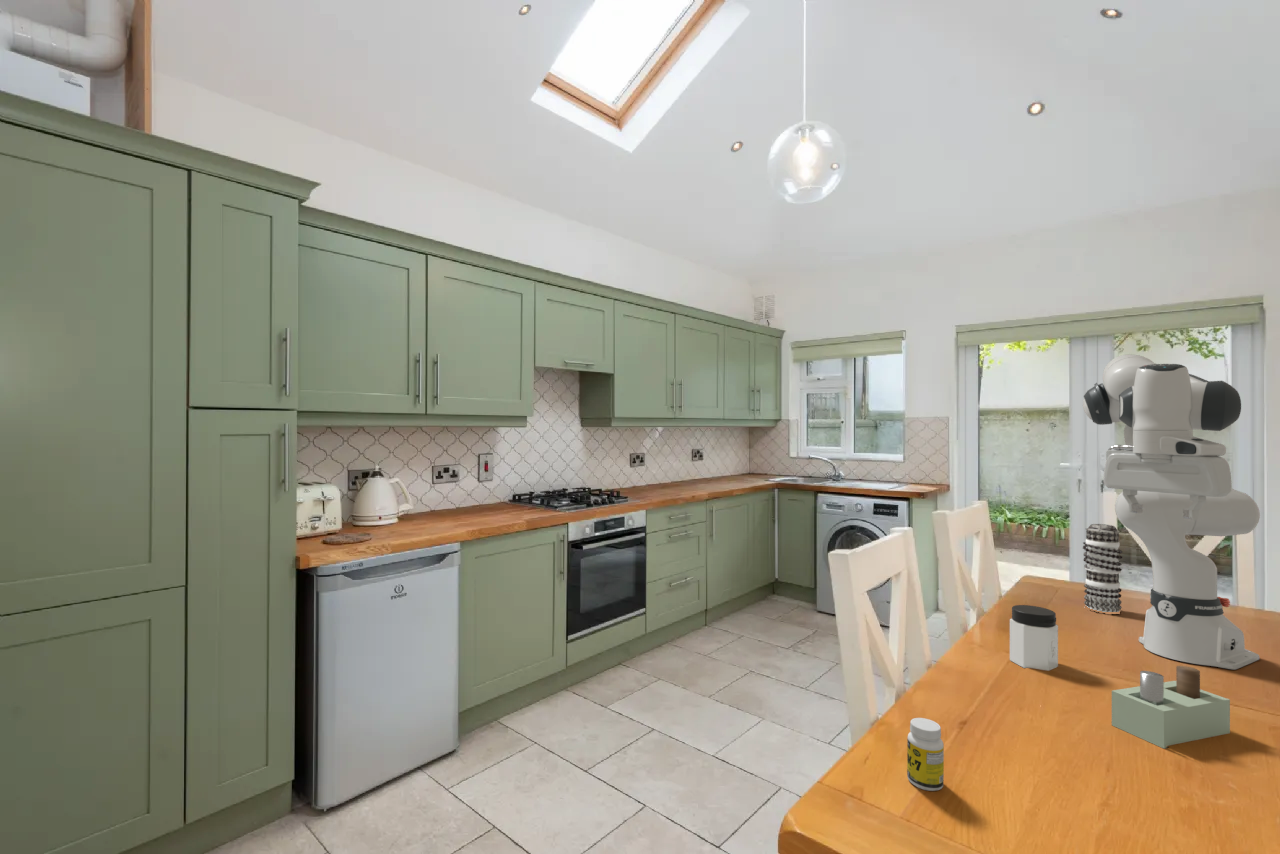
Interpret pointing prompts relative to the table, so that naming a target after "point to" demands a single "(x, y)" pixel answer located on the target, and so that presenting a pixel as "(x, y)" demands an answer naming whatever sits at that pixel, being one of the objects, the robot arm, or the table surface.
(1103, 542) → the decorative candle
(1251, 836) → the table surface
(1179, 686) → the walnut peg
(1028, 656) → the jar
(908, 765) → the supplement bottle
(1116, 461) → the robot arm
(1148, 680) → the grey metal peg
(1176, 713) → the socket block
